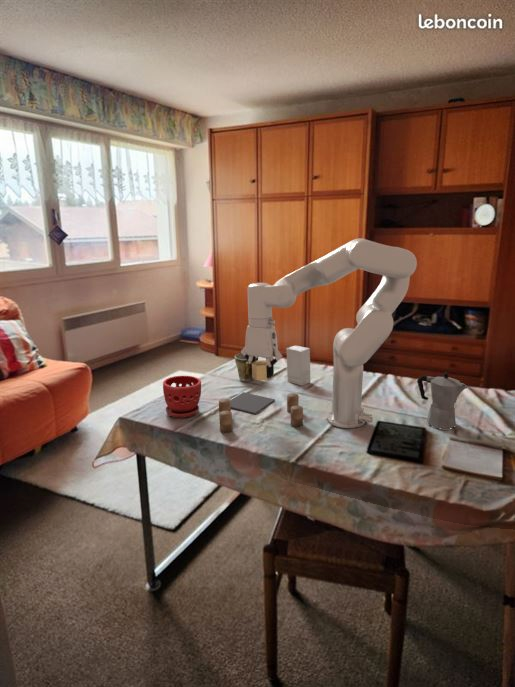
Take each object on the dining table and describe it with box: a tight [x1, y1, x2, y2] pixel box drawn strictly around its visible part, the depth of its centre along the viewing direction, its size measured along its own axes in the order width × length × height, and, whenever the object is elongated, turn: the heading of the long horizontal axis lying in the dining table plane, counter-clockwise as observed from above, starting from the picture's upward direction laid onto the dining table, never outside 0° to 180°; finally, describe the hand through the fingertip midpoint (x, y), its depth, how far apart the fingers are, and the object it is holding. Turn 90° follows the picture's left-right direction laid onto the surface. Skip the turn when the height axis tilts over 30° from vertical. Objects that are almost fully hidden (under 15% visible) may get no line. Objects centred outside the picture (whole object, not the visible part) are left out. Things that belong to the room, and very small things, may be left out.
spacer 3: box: [286, 392, 300, 414], centre depth 161 cm, size 4×4×6 cm
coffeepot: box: [416, 372, 468, 429], centre depth 149 cm, size 15×9×18 cm, turn 54°
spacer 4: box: [290, 405, 304, 428], centre depth 151 cm, size 4×4×6 cm
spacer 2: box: [218, 411, 233, 434], centre depth 147 cm, size 4×4×6 cm
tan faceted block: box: [252, 359, 272, 381], centre depth 150 cm, size 6×6×5 cm
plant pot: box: [162, 375, 202, 419], centre depth 160 cm, size 13×13×12 cm
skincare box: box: [285, 345, 311, 387], centre depth 187 cm, size 8×6×15 cm
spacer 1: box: [218, 398, 232, 414], centre depth 157 cm, size 4×4×6 cm
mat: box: [229, 392, 276, 415], centre depth 168 cm, size 14×14×1 cm
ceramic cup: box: [234, 352, 259, 382], centre depth 191 cm, size 13×10×10 cm
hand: (261, 375), depth 150 cm, fingers closed on tan faceted block, 5 cm apart
